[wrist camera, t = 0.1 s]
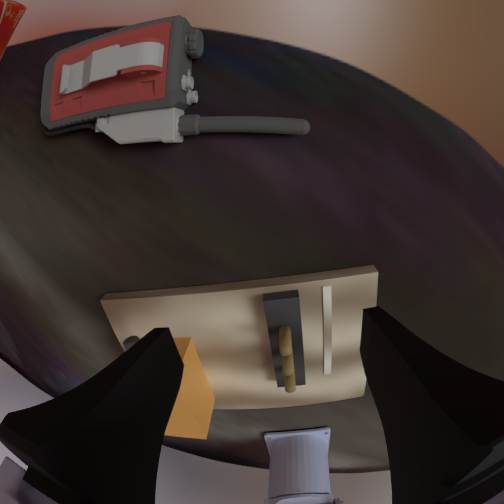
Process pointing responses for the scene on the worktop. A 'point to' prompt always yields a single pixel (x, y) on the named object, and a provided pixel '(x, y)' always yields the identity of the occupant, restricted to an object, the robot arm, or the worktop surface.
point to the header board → (263, 334)
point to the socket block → (188, 394)
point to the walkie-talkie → (138, 87)
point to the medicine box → (9, 21)
